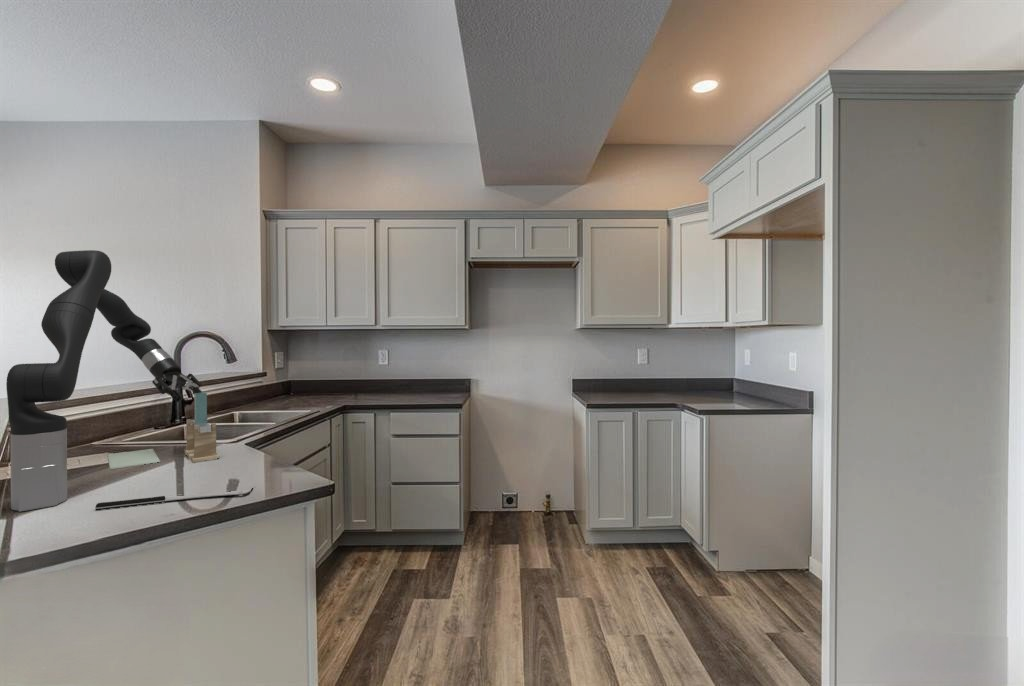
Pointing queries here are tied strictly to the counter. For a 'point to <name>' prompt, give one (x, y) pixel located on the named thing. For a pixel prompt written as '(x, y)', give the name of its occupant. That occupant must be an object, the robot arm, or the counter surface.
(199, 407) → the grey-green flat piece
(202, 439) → the rack
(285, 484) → the counter surface
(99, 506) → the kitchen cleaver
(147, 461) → the mat
